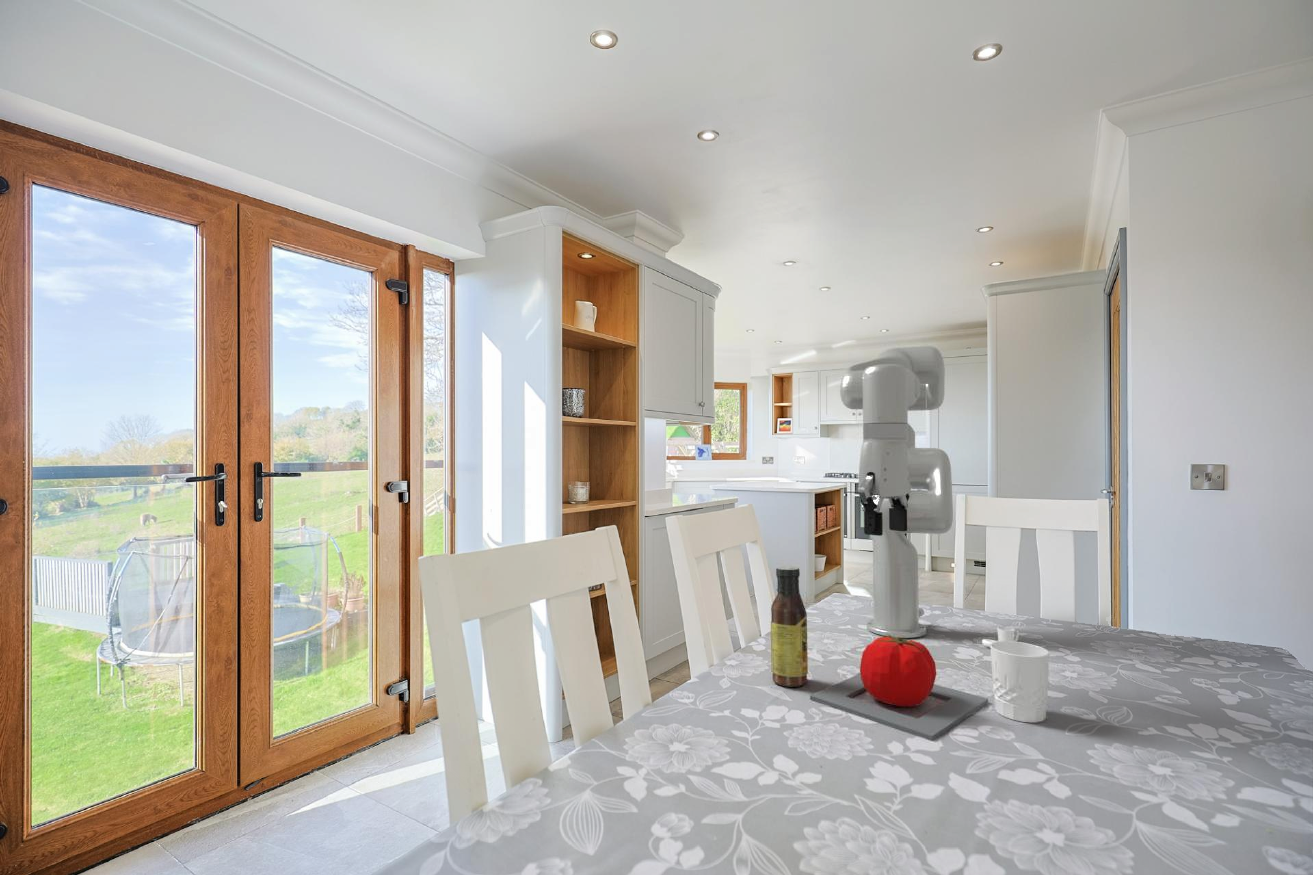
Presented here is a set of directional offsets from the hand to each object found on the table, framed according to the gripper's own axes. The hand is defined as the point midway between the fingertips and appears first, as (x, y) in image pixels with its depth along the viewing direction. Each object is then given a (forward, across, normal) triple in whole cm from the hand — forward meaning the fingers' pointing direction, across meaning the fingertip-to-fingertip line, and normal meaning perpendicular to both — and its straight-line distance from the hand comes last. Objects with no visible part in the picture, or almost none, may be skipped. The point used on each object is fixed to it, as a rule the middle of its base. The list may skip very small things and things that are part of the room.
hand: (886, 532), depth 113 cm
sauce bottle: (+26, +14, -11) cm, 32 cm away
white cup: (+26, -1, +21) cm, 34 cm away
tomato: (+26, +8, +6) cm, 28 cm away
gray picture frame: (+26, +8, +6) cm, 28 cm away
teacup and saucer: (+27, -36, +4) cm, 45 cm away
